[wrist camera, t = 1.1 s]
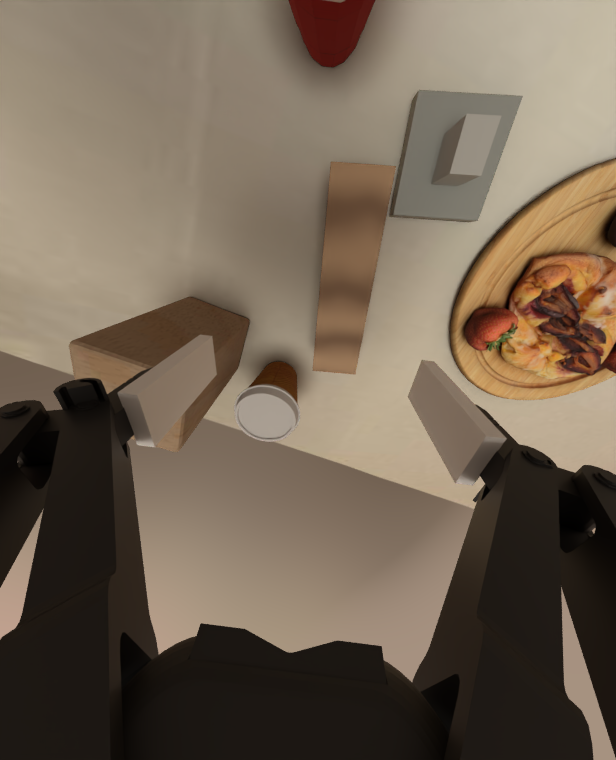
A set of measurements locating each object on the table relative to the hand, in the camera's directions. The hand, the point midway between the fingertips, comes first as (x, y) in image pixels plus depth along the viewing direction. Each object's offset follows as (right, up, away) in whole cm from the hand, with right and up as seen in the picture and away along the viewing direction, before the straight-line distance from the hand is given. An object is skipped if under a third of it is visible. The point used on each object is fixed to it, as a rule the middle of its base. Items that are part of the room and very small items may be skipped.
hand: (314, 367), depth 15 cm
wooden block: (-16, +7, +25) cm, 30 cm away
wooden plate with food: (+37, +10, +19) cm, 43 cm away
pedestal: (+15, +24, +12) cm, 31 cm away
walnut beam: (+4, +14, +19) cm, 24 cm away
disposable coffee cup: (-6, 0, +28) cm, 28 cm away
